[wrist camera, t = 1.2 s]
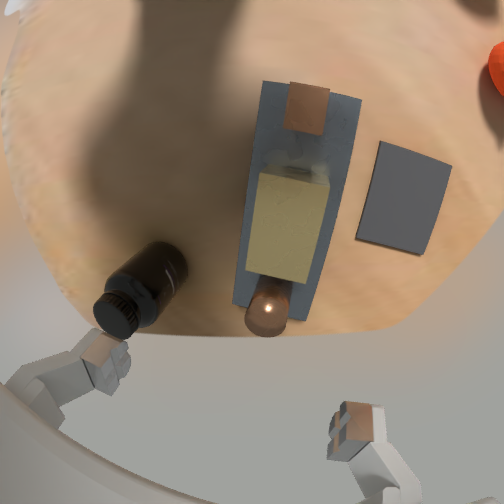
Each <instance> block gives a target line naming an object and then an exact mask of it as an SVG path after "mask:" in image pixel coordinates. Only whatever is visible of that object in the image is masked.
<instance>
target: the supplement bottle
mask: <svg viewBox="0 0 504 504" xmlns="http://www.w3.org/2000/svg"><path fill="white" fill-rule="evenodd" d="M187 275H188V269H187V264H186V262H185V259H184V258H183V256H182V255H181V253H180V252H179V251H178V250H177V249H176V248H174V247H173V246H171V245H169V244H167V243H164V242H153V243H150V244H148V245H147V246H145V247H144V248H143V249H142V250H140V251H139V252H138V253H137V254H135V255H134V256H133V257H132V258H130V259H129V260H128V261H127V262H126V263H124V264H123V265H122V266H121V267H120V268H118V269H117V270H116V271H115V272H114V273H113V274H112V275H111V276H110V277H109V278H108V279H107V281H106V284H105V289H104V294H103V295H102V296H101V297H100V298H99V299H98V300H97V301H96V303H95V304H94V306H93V312H94V316H95V318H96V321H97V322H98V324H99V325H100V327H101V328H102V329H103V330H104V331H105V332H106V333H108V334H110V335H112V336H114V337H117V338H119V339H121V340H125V339H128V338H129V337H131V335H132V334H133V333H134V332H135V331H136V330H137V329H138V328H143V327H147V326H150V325H151V324H153V323H154V322H155V321H156V320H157V318H158V317H159V316H160V314H161V313H162V312H163V311H164V309H165V308H166V307H167V305H168V304H169V303H170V302H171V300H172V299H173V298H174V296H175V295H176V294H177V293H178V291H179V290H180V289H181V287H182V286H183V285H184V283H185V282H186V279H187Z"/></svg>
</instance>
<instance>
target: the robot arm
mask: <svg viewBox="0 0 504 504" xmlns="http://www.w3.org/2000/svg"><path fill="white" fill-rule="evenodd" d="M127 350H128V344H127V342H126V341H123V340H121V339H119V338H117V337H114V336H112V335H110V334H108V333H106V332H104V331H102V330H99V329H97V328H93V329H91V330H90V331H89V332H88V333H87V334H86V335H85V336H84V337H83V338H82V339H81V340H80V342H79V343H78V344H77V345H76V346H75V347H74V348H73V349H72V350H71V351H70V352H68V351H65V352H62V353H59V354H56V355H53V356H50V357H47V358H44V359H41V360H38V361H35V362H32V363H28V364H25V365H22V366H21V367H20V368H19V369H18V370H17V371H16V372H15V374H14V375H13V376H12V377H11V378H10V379H9V380H8V381H7V382H6V384H5V385H3V384H2V383H1V382H0V504H217V503H213V502H209V501H206V500H203V499H199V498H196V497H193V496H190V495H187V494H184V493H181V492H178V491H176V490H173V489H170V488H167V487H165V486H162V485H160V484H157V483H155V482H153V481H150V480H148V479H146V478H143V477H141V476H139V475H137V474H134V473H132V472H130V471H128V470H126V469H124V468H122V467H120V466H118V465H116V464H114V463H112V462H110V461H108V460H106V459H105V458H103V457H101V456H99V455H98V454H96V453H94V452H92V451H91V450H89V449H87V448H86V447H84V446H82V445H81V444H79V443H78V442H76V441H74V440H73V439H71V438H70V437H68V436H67V435H65V434H64V433H62V432H61V431H59V430H58V428H59V427H60V425H61V424H62V422H63V421H64V420H65V416H64V414H63V413H62V411H61V410H60V409H59V407H60V406H62V405H64V404H66V403H68V402H70V401H72V400H74V399H76V398H78V397H80V396H82V395H84V394H86V393H88V392H90V391H91V390H93V389H94V388H95V389H97V390H99V391H101V392H103V393H105V394H108V395H110V396H112V395H113V393H114V392H115V391H116V389H117V388H118V386H119V379H121V378H123V377H125V376H126V375H127V373H128V372H129V368H130V366H131V357H130V355H129V354H128V352H127ZM329 436H330V437H331V439H332V440H331V441H330V443H329V444H328V450H327V460H335V461H345V462H348V465H349V467H350V469H351V471H352V473H353V475H354V477H355V479H356V480H357V483H358V485H359V487H360V488H361V491H362V492H363V494H364V496H365V498H366V499H365V500H363V501H361V502H359V503H357V504H422V489H421V483H420V482H419V480H418V479H417V478H416V476H415V475H414V474H413V472H412V471H411V470H410V468H409V467H408V466H407V464H406V463H405V462H404V460H403V459H402V457H401V456H400V455H399V453H398V452H397V451H396V449H395V448H394V447H393V445H392V444H391V443H387V433H386V421H385V411H384V407H383V406H382V405H374V404H367V403H358V402H348V401H344V402H343V403H342V404H341V405H340V411H338V412H336V413H335V414H334V416H333V417H332V420H331V422H330V427H329ZM468 504H500V503H499V502H498V501H497V500H496V499H495V498H493V497H487V498H484V499H481V500H478V501H474V502H471V503H468Z"/></svg>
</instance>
